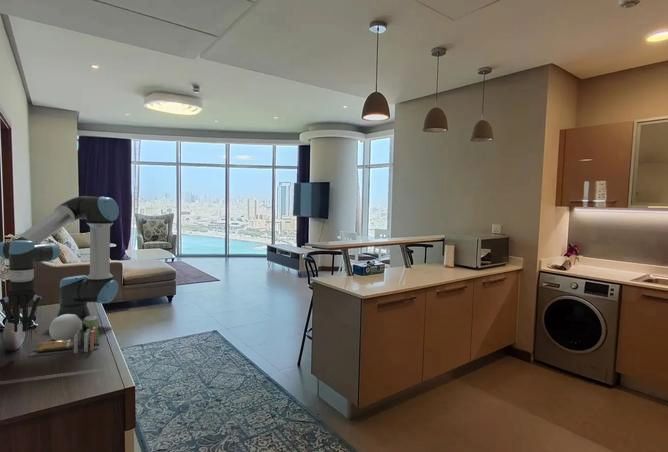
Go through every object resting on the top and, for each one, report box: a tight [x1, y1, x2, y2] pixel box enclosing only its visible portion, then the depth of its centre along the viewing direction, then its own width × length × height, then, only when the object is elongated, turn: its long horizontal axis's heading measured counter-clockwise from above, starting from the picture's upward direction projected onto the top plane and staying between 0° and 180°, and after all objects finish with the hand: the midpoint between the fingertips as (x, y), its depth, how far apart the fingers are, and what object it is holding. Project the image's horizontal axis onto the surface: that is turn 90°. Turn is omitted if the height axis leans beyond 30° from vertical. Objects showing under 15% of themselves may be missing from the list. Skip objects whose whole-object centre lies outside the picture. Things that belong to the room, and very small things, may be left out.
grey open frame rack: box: [27, 342, 101, 359], centre depth 154 cm, size 9×23×2 cm, turn 116°
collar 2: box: [83, 328, 91, 353], centre depth 157 cm, size 9×1×7 cm, turn 26°
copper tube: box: [35, 339, 74, 353], centre depth 153 cm, size 12×4×4 cm, turn 116°
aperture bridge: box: [90, 327, 97, 352], centre depth 158 cm, size 8×1×8 cm, turn 26°
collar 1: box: [73, 329, 82, 354], centre depth 155 cm, size 9×1×7 cm, turn 26°
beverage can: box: [81, 314, 100, 343], centre depth 165 cm, size 6×7×12 cm
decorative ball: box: [48, 314, 83, 341], centre depth 166 cm, size 12×12×12 cm
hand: (20, 339), depth 147 cm, fingers closed
